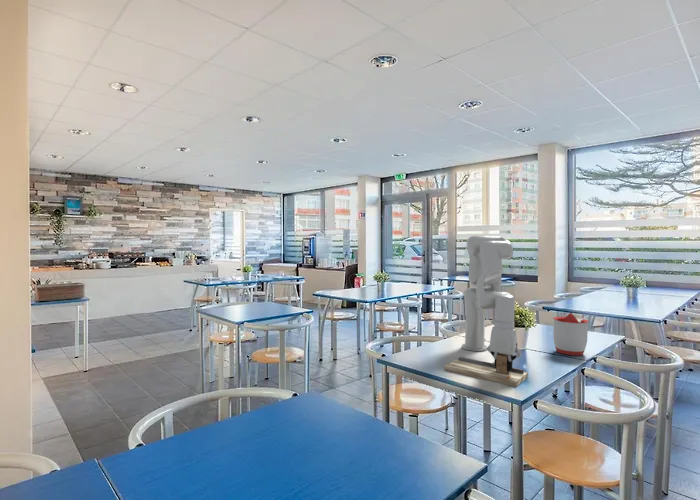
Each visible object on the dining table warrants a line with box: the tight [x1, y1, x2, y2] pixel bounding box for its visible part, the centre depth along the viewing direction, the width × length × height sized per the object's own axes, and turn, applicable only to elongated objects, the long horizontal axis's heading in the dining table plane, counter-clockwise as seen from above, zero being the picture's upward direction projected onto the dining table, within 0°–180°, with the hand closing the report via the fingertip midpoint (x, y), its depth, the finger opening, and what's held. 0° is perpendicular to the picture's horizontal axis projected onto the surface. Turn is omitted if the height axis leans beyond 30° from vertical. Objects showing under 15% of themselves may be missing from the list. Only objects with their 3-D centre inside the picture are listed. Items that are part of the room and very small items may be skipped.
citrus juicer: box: [552, 313, 589, 356], centre depth 209 cm, size 16×17×20 cm
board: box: [444, 356, 529, 388], centre depth 175 cm, size 14×30×4 cm, turn 50°
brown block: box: [496, 353, 510, 374], centre depth 169 cm, size 8×4×7 cm, turn 140°
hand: (503, 368), depth 171 cm, fingers closed on brown block, 4 cm apart
